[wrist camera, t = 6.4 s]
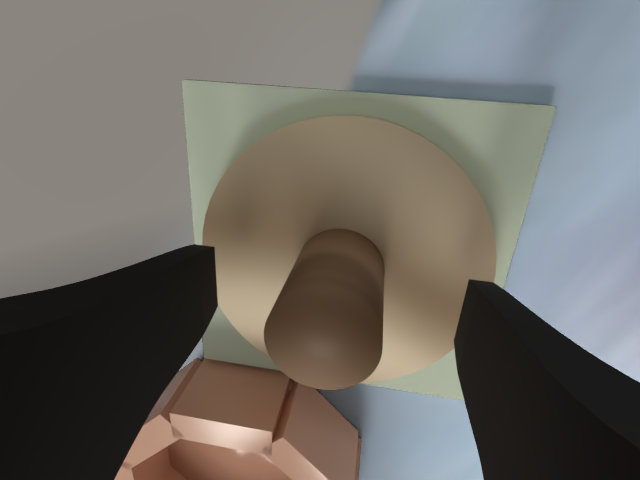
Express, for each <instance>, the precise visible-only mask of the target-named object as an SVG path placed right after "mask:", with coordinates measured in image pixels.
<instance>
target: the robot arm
mask: <svg viewBox="0 0 640 480" xmlns="http://www.w3.org/2000/svg"><path fill="white" fill-rule="evenodd" d="M217 307H218V298H217V281H216V263H215V247H212V246H204V245H196V244H194V245H190V246H185V247H182V248H179V249H176V250H173V251H170V252H167V253H164V254H162V255H159V256H156V257H153V258H151V259H148V260H145V261H142V262H139V263H137V264H134V265H131V266H128V267H125V268H122V269H119V270H116V271H113V272H110V273H107V274H104V275H100V276H98V277H94V278H91V279H88V280H84V281H80V282H76V283H73V284H69V285H65V286H61V287H56V288H53V289H48V290H43V291H38V292H33V293H28V294H22V295H18V296H12V297H6V298H1V299H0V480H114V479H115V477H116V475H117V473H118V471H119V470H120V468H121V466H122V464H123V462H124V460H125V458H126V456H127V454H128V452H129V450H130V448H131V447H132V445H133V443H134V441H135V439H136V437H137V436H138V434H139V432H140V430H141V428H142V427H143V425H144V423H145V421H146V419H147V418H148V416H149V414H150V412H151V411H152V409H153V407H154V406H155V404H156V403H157V401H158V400H159V398H160V396H161V395H162V393H163V392H164V391H165V389H166V388H167V386H168V385H169V383H170V382H171V381H172V379H173V378H174V376H175V375H176V374H177V372H178V371H179V369H180V368H181V366H182V365H183V364H184V362H185V361H186V359H187V358H188V357H189V355H190V354H191V352H192V351H193V349H194V348H195V346H196V345H197V343H198V342H199V341H200V339H201V338H202V336H203V335H204V333H205V331H206V329H207V327H208V326H209V324H210V322H211V320H212V318H213V315H214V313H215V311H216V309H217ZM454 348H455V358H456V366H457V373H458V377H459V381H460V385H461V389H462V393H463V397H464V401H465V404H466V408H467V412H468V415H469V419H470V423H471V427H472V430H473V434H474V438H475V441H476V445H477V449H478V453H479V457H480V462H481V466H482V471H483V477H484V480H640V383H639V382H637V381H636V380H634V379H632V378H630V377H629V376H627V375H625V374H623V373H622V372H620V371H618V370H617V369H615V368H613V367H612V366H610V365H608V364H607V363H605V362H603V361H602V360H600V359H598V358H597V357H595V356H594V355H592V354H591V353H589V352H587V351H586V350H584V349H583V348H582V347H580V346H579V345H577V344H576V343H574V342H573V341H571V340H570V339H568V338H567V337H566V336H564V335H563V334H561V333H560V332H559V331H557V330H556V329H554V328H553V327H552V326H550V325H549V324H548V323H546V322H545V321H544V320H542V319H541V318H540V317H538V316H537V315H536V314H535V313H533V312H532V311H531V310H529V309H528V308H527V307H526V306H524V305H523V304H522V303H520V302H519V301H518V300H517V299H515V298H514V297H513V296H512V295H510V294H509V293H508V292H506V291H505V290H504V289H502V288H501V287H499V286H498V285H496V284H495V283H493V282H487V281H480V280H472V279H469V281H468V285H467V289H466V293H465V297H464V301H463V305H462V309H461V313H460V317H459V321H458V325H457V329H456V333H455V337H454Z"/></svg>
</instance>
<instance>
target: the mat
mask: <svg viewBox="0 0 640 480" xmlns="http://www.w3.org/2000/svg"><path fill="white" fill-rule="evenodd" d="M182 91H183V104H184V117H185V129H186V142H187V154H188V166H189V179H190V191H191V204H192V217H193V228H194V242H195V244H196V245H202V236H203V226H204V220H205V214H206V211H207V208H208V205H209V202H210V199H211V197H212V195H213V193H214V191H215V189H216V186H217V184H218V182H219V181H220V180H221V178H222V177H223V175H224V174H225V172H226V171H227V169H228V168H229V167H230V166H231V165H232V164H233V163H234V161H235V160H236V159H237V158H238V157H239V156H240V155H241V154H242V153H243V152H245V151H246V150H247V149H248V148H250V147H251V146H252V145H253V144H255V143H256V142H257V141H259V140H261V139H263V138H264V137H266V136H268V135H269V134H271V133H273V132H275V131H277V130H279V129H281V128H284V127H286V126H288V125H291V124H293V123H296V122H299V121H303V120H307V119H311V118H315V117H321V116H331V115H360V116H366V117H372V118H378V119H382V120H385V121H389V122H392V123H395V124H398V125H401V126H403V127H405V128H408V129H410V130H412V131H414V132H416V133H418V134H420V135H422V136H423V137H425V138H426V139H428V140H429V141H431V142H432V143H434V144H435V145H437V146H438V147H440V148H441V149H442V150H443V151H444V152H445V153H446V154H448V155H449V156H450V157H451V158H452V159H453V160H454V161H455V162H456V163H457V164H458V166H459V167H460V168H461V169H462V170H463V171H464V173H465V174H466V175H467V176H468V178H469V179H470V180H471V182H472V183H473V185H474V186H475V188H476V190H477V191H478V193H479V195H480V196H481V198H482V200H483V202H484V204H485V207H486V209H487V211H488V214H489V216H490V219H491V223H492V227H493V231H494V235H495V243H496V254H497V258H496V273H495V278H494V283H495V284H496V285H498V286H499V287H501V288H502V289H503V287H504V284H505V281H506V277H507V274H508V270H509V267H510V264H511V260H512V257H513V253H514V250H515V246H516V243H517V240H518V236H519V233H520V229H521V226H522V222H523V219H524V216H525V212H526V209H527V205H528V202H529V199H530V195H531V192H532V188H533V185H534V181H535V178H536V175H537V171H538V168H539V164H540V161H541V157H542V154H543V151H544V147H545V144H546V140H547V137H548V134H549V130H550V127H551V123H552V120H553V116H554V113H555V110H556V106H551V105H537V104H523V103H509V102H496V101H482V100H468V99H454V98H440V97H426V96H412V95H398V94H384V93H370V92H356V91H342V90H328V89H315V88H301V87H287V86H272V85H259V84H258V85H257V84H244V83H230V82H216V81H203V80H189V79H188V80H186V79H185V80H182ZM202 342H203V354H204V358H207V359H213V360H219V361H225V362H231V363H237V364H243V365H249V366H255V367H261V368H267V369H273V370H279V371H281V370H280V369H279V368H278V367H277V366H276V365H275V364H274V362H273V361H272V359H271V358H269V357H268V356H266V355H265V354H263V353H262V352H261V351H259V350H258V349H257V348H255V347H254V346H253V345H252V344H251V343H249V342H248V341H247V340H246V339H245V338H244V337H243V336H242V335H241V334H240V333H239V332H238V331H237V330H236V328H235V327H234V326H233V325H232V324H231V323H230V321H229V320H228V318H227V317H226V315H225V314H224V313H223V311H222V310H221V308H220V306H219V304H218V307H217V309H216V311H215V313H214V315H213V318H212V320H211V322H210V324H209V326H208V327H207V329H206V331H205V333H204V335H203V336H202ZM359 384H365V385H371V386H377V387H383V388H389V389H395V390H401V391H407V392H413V393H419V394H425V395H431V396H437V397H443V398H450V399H456V400H462V401H464V397H463V393H462V389H461V385H460V381H459V377H458V373H457V366H456V358H455V348H454V349H453V350H452V351H450V352H449V353H448V354H446V355H445V356H444V357H442V358H441V359H440V360H438V361H436V362H434V363H433V364H431V365H429V366H427V367H426V368H423V369H421V370H419V371H416V372H414V373H412V374H409V375H406V376H402V377H399V378H395V379H391V380H385V381H380V382H370V383H359Z"/></svg>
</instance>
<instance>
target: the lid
mask: <svg viewBox="0 0 640 480" xmlns="http://www.w3.org/2000/svg"><path fill="white" fill-rule="evenodd" d="M202 245H204V246H212V247H215V263H216V281H217V298H218V304H219V306H220V308H221V310H222V311H223V313H224V314H225V315H226V317H227V318H228V320H229V321H230V323H231V324H232V325H233V326H234V327H235V328H236V330H237V331H238V332H239V333H240V334H241V335H242V336H243V337H244V338H245V339H246V340H247V341H248V342H249V343H251V344H252V345H253V346H254V347H255V348H257V349H258V350H259V351H261V352H262V353H263V354H265V355H266V356H268V357H269V358H271V359H272V361H273V362H274V364H275V365H276V366H277V367H278V368H279V369H280V370H281V371H282V372H283V373H284V374H285V375H287V376H288V377H289V378H291V379H293V380H294V381H296V382H298V383H300V384H302V385H305V386H308V387H312V388H316V389H322V390H339V389H345V388H349V387H352V386H354V385H357V384H359V383H370V382H380V381H385V380H391V379H395V378H399V377H402V376H406V375H409V374H412V373H414V372H416V371H419V370H421V369H423V368H426V367H427V366H429V365H431V364H433V363H434V362H436V361H438V360H440V359H441V358H442V357H444V356H445V355H446V354H448V353H449V352H450V351H452V350H453V349H454V337H455V333H456V329H457V325H458V321H459V317H460V313H461V309H462V305H463V301H464V297H465V293H466V289H467V285H468V281H469V279H472V280H480V281H487V282H493V283H494V278H495V273H496V258H497V254H496V243H495V235H494V231H493V227H492V223H491V219H490V216H489V214H488V211H487V209H486V207H485V204H484V202H483V200H482V198H481V196H480V195H479V193H478V191H477V190H476V188H475V186H474V185H473V183H472V182H471V180H470V179H469V178H468V176H467V175H466V174H465V173H464V171H463V170H462V169H461V168H460V167H459V166H458V164H457V163H456V162H455V161H454V160H453V159H452V158H451V157H450V156H449V155H448V154H446V153H445V152H444V151H443V150H442V149H441V148H440V147H438V146H437V145H435V144H434V143H432V142H431V141H429V140H428V139H426V138H425V137H423V136H422V135H420V134H418V133H416V132H414V131H412V130H410V129H408V128H405V127H403V126H401V125H398V124H395V123H392V122H389V121H385V120H382V119H378V118H372V117H366V116H360V115H331V116H321V117H315V118H311V119H307V120H303V121H299V122H296V123H293V124H291V125H288V126H286V127H284V128H281V129H279V130H277V131H275V132H273V133H271V134H269V135H268V136H266V137H264V138H263V139H261V140H259V141H257V142H256V143H255V144H253V145H252V146H251V147H250V148H248V149H247V150H246V151H245V152H243V153H242V154H241V155H240V156H239V157H238V158H237V159H236V160H235V161H234V163H233V164H232V165H231V166H230V167H229V168H228V169H227V171H226V172H225V174H224V175H223V177H222V178H221V180H220V181H219V182H218V184H217V186H216V189H215V191H214V193H213V195H212V197H211V199H210V202H209V205H208V208H207V211H206V214H205V220H204V226H203V236H202Z"/></svg>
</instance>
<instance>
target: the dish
mask: <svg viewBox="0 0 640 480" xmlns="http://www.w3.org/2000/svg"><path fill="white" fill-rule="evenodd" d="M358 432H359V431H358V430H357V429H356V428H354V427H353V426H352V425H351V424H350V423H349V422H348V421H347V420H346V419H345V418H344V417H343V416H342V415H341V414H340V413H339V412H338V411H337V410H336V409H335V408H334V407H333V406H332V405H331V404H330V403H329V402H328V401H327V400H326V399H325V398H324V397H323V396H322V395H321V394H320V393H319V392H318V391H317V390H316V389H315V388H312V387H308V386H305V385H302V384H300V383H298V382H296V381H294V380H293V379H291V378H289V377H288V376H287V375H285V374H284V373H283V372H282V371H279V370H273V369H267V368H261V367H255V366H249V365H243V364H237V363H231V362H225V361H219V360H213V359H207V358H204V360H203V361H201V360H200V359H199V358H196V359H195V360H194V361H192V362H191V363H189V364H188V365H187V366H185V367H184V368H183V369H181V370H180V371H178V372H177V374H176V375H175V376H174V378H173V379H172V381H171V382H170V383H169V385H168V386H167V388H166V389H165V391H164V392H163V393H162V395H161V396H160V398H159V400H158V401H157V403H156V404H155V406H154V407H153V409H152V411H151V412H150V414H149V416H148V418H147V419H146V421H145V423H144V425H143V427H142V428H141V430H140V432H139V434H138V436H137V437H136V439H135V441H134V443H133V445H132V447H131V448H130V450H129V452H128V454H127V456H126V458H125V460H124V462H123V464H122V466H121V468H120V470H119V471H118V473H117V475H116V477H115V479H114V480H358V476H359V463H360V449H361V438H358Z"/></svg>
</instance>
